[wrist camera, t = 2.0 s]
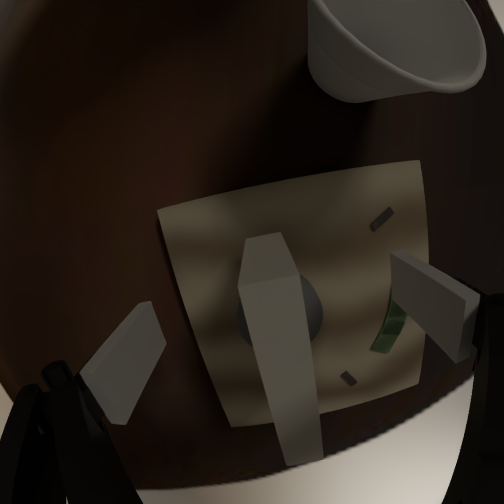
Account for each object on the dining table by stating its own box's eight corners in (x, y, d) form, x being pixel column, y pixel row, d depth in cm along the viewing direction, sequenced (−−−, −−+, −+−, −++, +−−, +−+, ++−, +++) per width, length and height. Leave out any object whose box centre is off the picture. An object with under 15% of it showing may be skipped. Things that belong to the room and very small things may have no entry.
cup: (399, 140, 19) (496, 123, 8) (276, 115, 19) (296, 51, 8) (398, 39, 16) (467, -17, 6) (286, 11, 16) (304, -79, 5)
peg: (220, 238, 20) (186, 295, 10) (304, 220, 19) (350, 262, 10) (263, 399, 23) (265, 490, 14) (327, 387, 23) (352, 474, 13)
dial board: (162, 208, 20) (155, 210, 19) (412, 160, 19) (421, 160, 18) (232, 419, 26) (231, 428, 24) (413, 377, 24) (419, 384, 23)
